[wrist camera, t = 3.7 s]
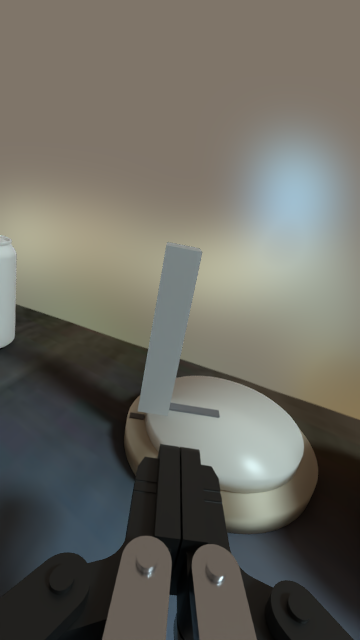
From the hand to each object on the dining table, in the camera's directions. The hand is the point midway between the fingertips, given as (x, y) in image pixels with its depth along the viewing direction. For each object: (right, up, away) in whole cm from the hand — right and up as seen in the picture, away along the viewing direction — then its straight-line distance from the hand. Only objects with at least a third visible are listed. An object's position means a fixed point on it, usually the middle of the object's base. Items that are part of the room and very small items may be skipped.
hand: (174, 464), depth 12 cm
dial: (+3, -4, +15) cm, 15 cm away
